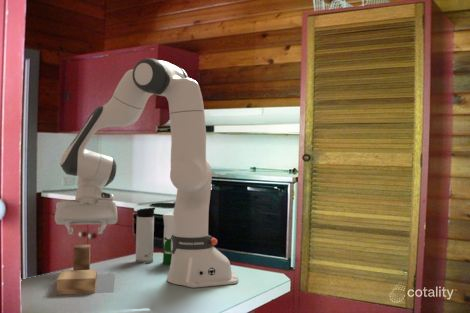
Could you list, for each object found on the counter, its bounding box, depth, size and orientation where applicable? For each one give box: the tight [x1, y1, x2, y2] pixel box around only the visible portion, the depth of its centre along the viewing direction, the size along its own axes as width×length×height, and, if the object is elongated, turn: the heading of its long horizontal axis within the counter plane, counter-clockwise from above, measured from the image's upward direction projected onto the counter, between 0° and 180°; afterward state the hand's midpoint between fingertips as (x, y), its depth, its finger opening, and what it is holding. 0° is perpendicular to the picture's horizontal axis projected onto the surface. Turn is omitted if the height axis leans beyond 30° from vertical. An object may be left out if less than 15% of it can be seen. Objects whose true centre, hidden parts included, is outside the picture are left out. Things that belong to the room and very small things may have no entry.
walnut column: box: [73, 243, 92, 270], centre depth 144 cm, size 4×4×10 cm
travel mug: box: [135, 206, 156, 264], centre depth 171 cm, size 6×7×20 cm
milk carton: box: [162, 211, 174, 265], centre depth 170 cm, size 9×9×20 cm
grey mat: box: [44, 273, 116, 296], centre depth 138 cm, size 18×20×1 cm
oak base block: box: [56, 269, 98, 295], centre depth 133 cm, size 10×10×4 cm
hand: (85, 233), depth 152 cm, fingers open, 8 cm apart
